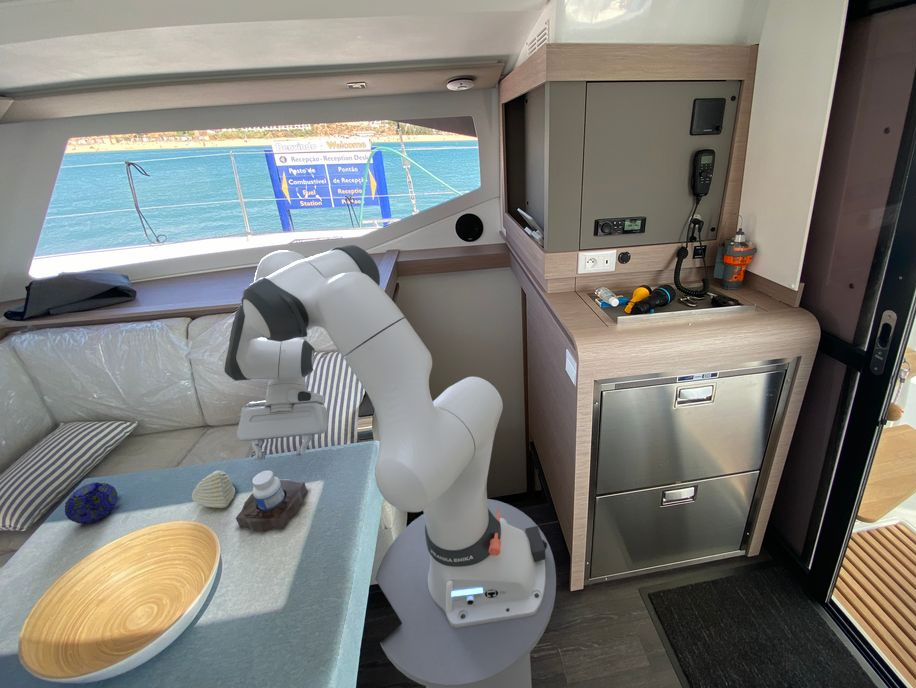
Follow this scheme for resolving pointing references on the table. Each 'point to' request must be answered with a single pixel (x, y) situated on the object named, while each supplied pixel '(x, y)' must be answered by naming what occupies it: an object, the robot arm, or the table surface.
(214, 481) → the seashell
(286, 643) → the table surface
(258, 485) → the pill bottle
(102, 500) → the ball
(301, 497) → the brown candle holder
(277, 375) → the robot arm
